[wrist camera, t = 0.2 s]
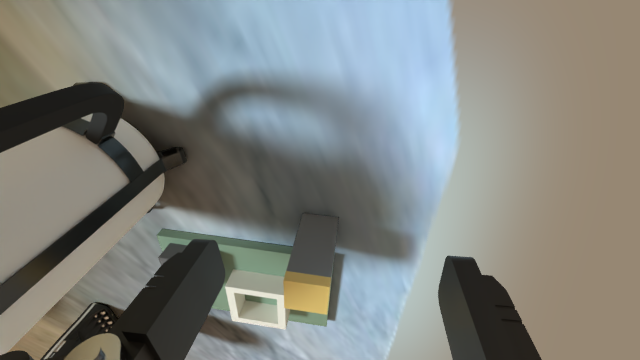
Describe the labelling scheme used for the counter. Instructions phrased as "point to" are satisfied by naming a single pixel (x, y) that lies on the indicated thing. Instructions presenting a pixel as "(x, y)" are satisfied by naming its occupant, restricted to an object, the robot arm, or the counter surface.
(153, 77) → the counter surface
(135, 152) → the coffee press
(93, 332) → the battery charger
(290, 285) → the plug
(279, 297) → the header board
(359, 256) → the counter surface
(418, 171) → the counter surface
